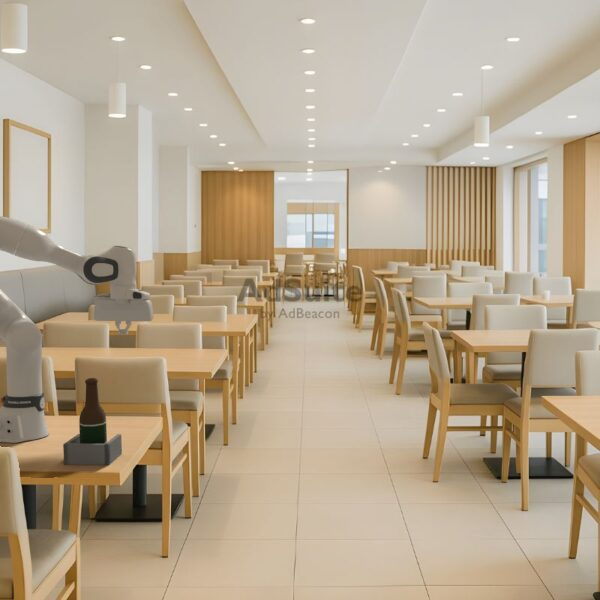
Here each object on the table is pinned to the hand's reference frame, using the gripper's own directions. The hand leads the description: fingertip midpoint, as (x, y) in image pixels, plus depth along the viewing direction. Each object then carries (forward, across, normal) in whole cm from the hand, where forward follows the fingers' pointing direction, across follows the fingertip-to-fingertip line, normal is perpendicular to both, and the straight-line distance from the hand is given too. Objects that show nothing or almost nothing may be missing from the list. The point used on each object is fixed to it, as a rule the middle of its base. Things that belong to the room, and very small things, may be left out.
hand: (123, 334), depth 271 cm
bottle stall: (+34, +3, -35) cm, 49 cm away
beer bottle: (+35, +3, -34) cm, 49 cm away
